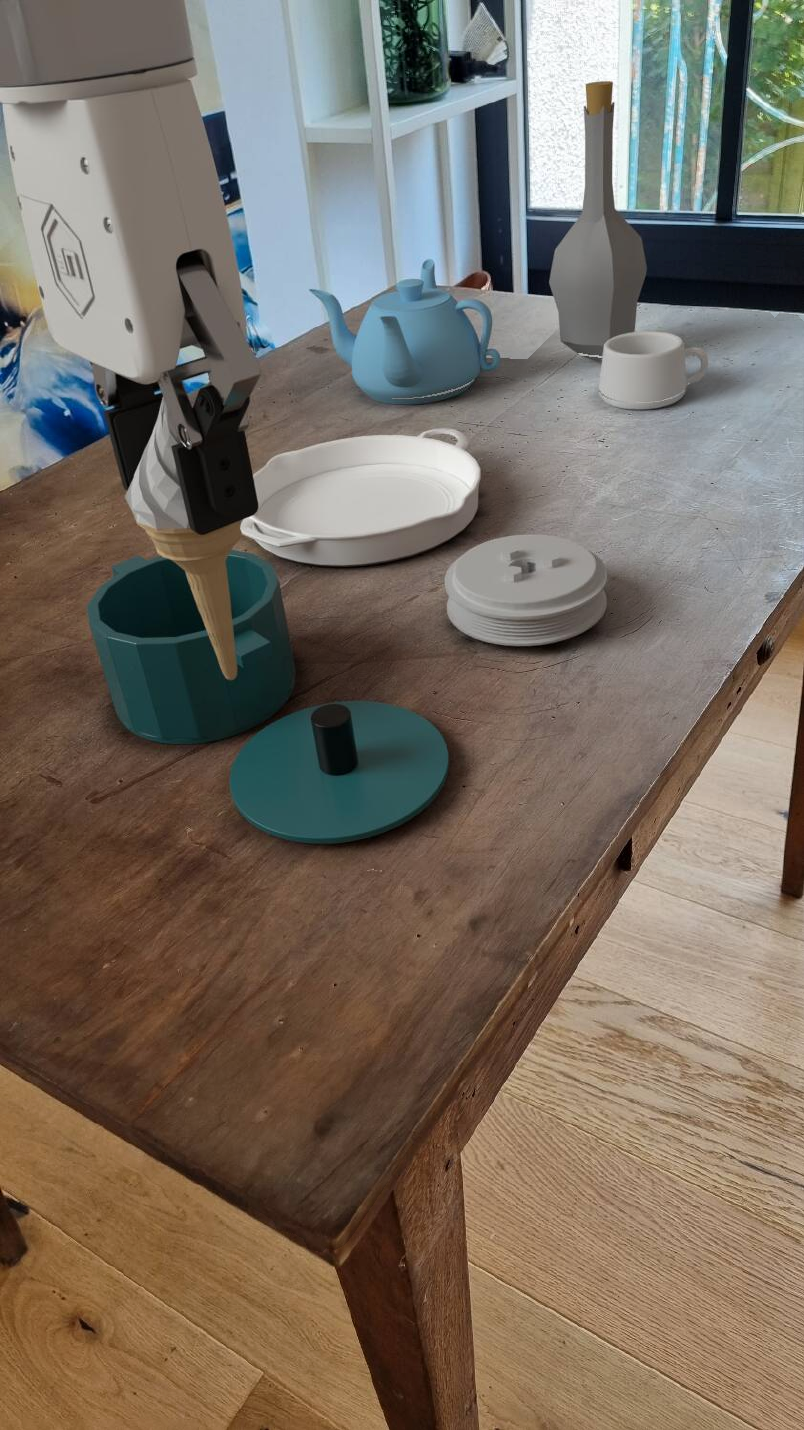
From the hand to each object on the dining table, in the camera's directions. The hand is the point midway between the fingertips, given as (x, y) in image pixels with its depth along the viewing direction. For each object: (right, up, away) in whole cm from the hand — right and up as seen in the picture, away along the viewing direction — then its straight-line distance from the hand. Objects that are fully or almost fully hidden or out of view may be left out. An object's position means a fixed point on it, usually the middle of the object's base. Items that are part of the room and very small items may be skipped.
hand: (189, 499), depth 50 cm
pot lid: (+6, -13, +23) cm, 27 cm away
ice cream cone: (+1, -8, +6) cm, 10 cm away
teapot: (+11, +31, +85) cm, 91 cm away
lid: (+20, -2, +38) cm, 43 cm away
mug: (+38, +26, +75) cm, 88 cm away
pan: (+6, +9, +57) cm, 58 cm away
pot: (-5, -8, +34) cm, 35 cm away
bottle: (+34, +33, +86) cm, 98 cm away
